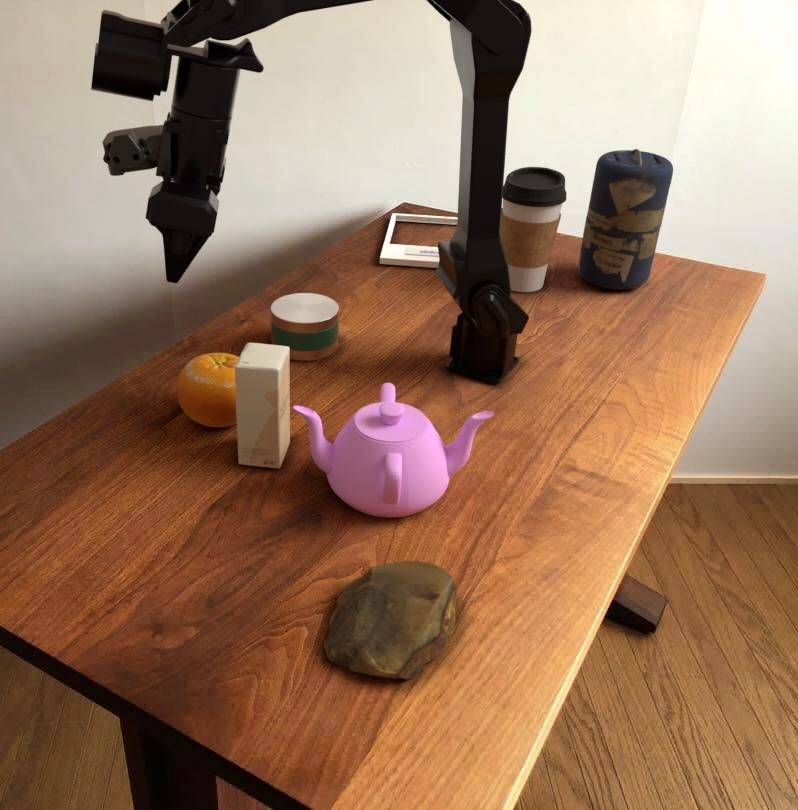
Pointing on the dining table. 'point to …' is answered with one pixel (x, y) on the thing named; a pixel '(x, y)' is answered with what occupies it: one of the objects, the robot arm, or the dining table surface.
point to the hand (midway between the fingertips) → (176, 264)
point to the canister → (624, 218)
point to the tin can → (305, 325)
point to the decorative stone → (393, 620)
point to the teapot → (389, 456)
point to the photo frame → (410, 253)
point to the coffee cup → (530, 223)
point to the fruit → (209, 389)
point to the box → (263, 404)
